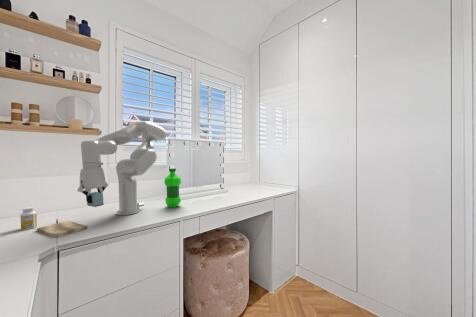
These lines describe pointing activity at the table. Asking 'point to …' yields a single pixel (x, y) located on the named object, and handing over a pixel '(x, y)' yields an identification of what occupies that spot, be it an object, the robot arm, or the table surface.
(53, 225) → the board
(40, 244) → the table surface
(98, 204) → the block
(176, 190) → the plastic bottle
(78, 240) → the table surface
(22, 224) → the supplement bottle
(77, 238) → the table surface
